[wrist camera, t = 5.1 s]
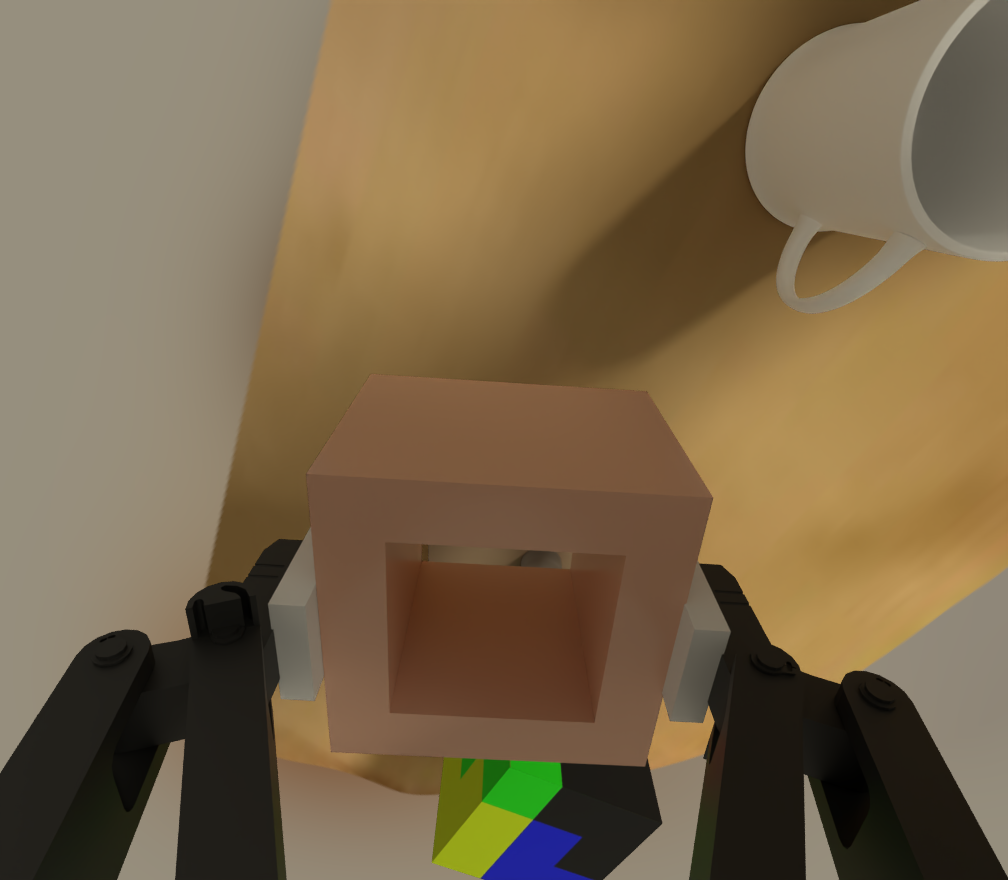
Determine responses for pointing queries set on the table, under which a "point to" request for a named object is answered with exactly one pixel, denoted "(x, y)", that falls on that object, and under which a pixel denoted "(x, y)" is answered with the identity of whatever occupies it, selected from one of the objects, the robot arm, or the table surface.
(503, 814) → the puzzle toy
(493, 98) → the table surface
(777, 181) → the mug
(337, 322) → the table surface
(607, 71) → the table surface
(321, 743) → the table surface
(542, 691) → the collar
